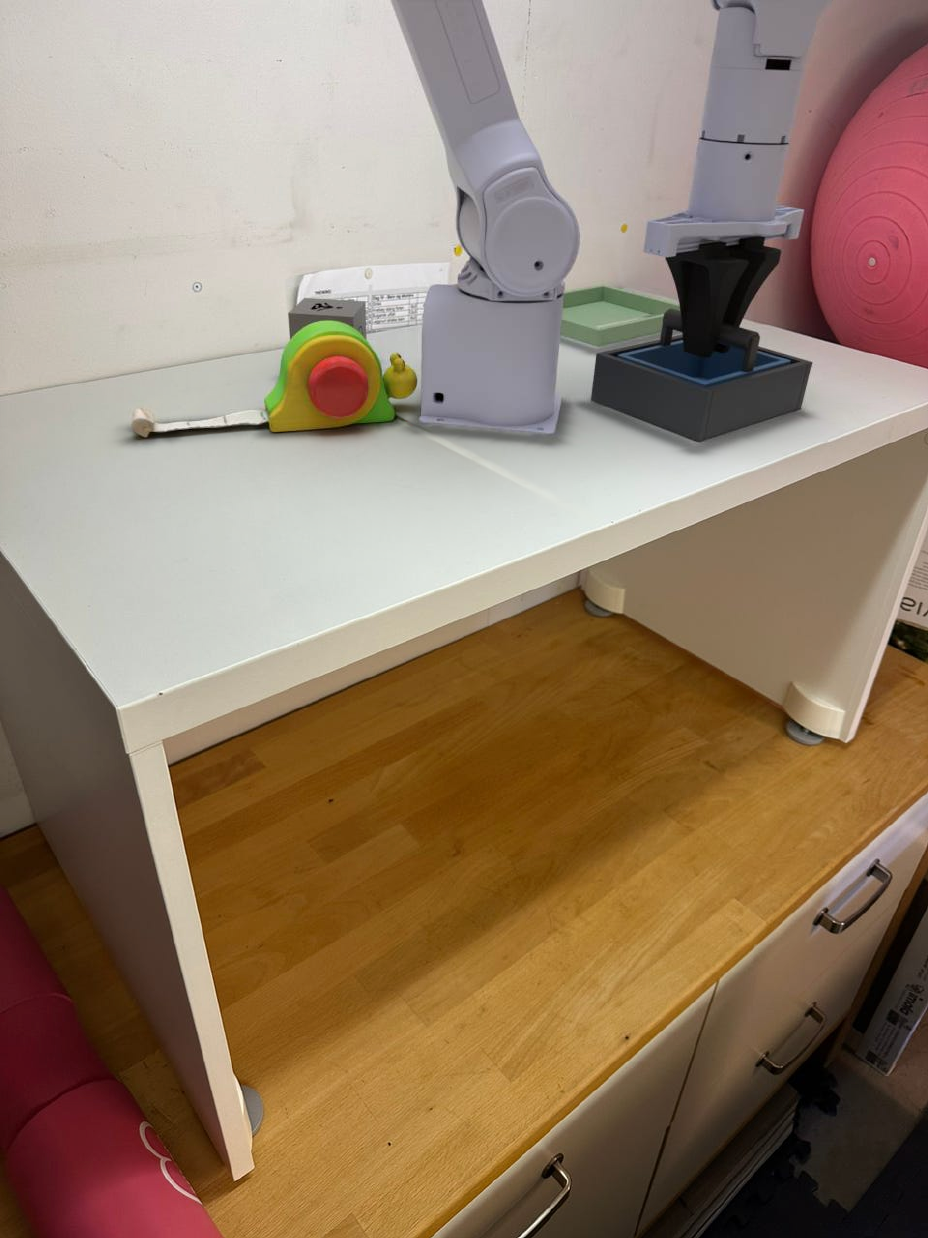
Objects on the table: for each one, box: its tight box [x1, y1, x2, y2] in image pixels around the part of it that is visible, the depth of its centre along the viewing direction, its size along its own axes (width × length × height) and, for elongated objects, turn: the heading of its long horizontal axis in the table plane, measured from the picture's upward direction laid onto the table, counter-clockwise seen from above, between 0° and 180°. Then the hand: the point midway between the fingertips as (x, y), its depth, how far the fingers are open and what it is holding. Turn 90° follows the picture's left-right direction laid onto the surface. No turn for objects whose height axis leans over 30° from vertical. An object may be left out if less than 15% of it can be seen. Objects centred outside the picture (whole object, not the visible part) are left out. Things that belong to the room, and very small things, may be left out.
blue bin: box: [617, 308, 791, 388], centre depth 65 cm, size 10×8×6 cm
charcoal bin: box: [590, 334, 814, 443], centre depth 66 cm, size 12×10×4 cm
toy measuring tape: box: [131, 321, 418, 438], centre depth 60 cm, size 6×20×7 cm, turn 107°
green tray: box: [560, 284, 680, 347], centre depth 87 cm, size 14×12×2 cm
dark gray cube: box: [287, 297, 367, 340], centre depth 71 cm, size 5×5×5 cm
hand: (705, 351), depth 65 cm, fingers closed on blue bin
